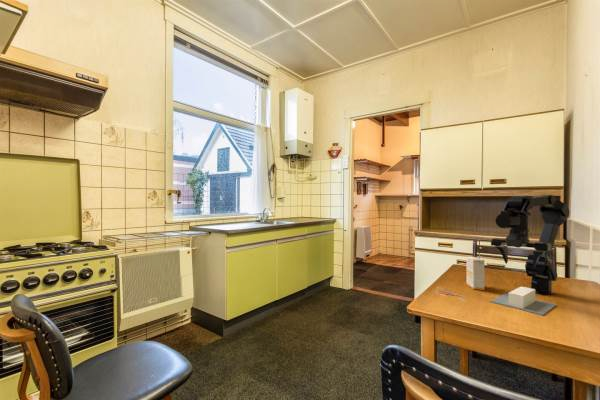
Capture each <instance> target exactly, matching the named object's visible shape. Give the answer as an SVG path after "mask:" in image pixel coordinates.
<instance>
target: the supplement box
mask: <svg viewBox="0 0 600 400" xmlns="http://www.w3.org/2000/svg"><path fill="white" fill-rule="evenodd" d="M485 280H486V279H485V259H482V258H480V257H478V256H466V285H467V286H468V287H470V288H471V289H472V290H477V291H478V290H481V291H485Z"/></svg>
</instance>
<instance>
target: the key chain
mask: <svg viewBox="0 0 600 400" xmlns="http://www.w3.org/2000/svg"><path fill="white" fill-rule="evenodd" d="M443 292H444V293H443ZM437 293H438V294H440V295H439V296H441V297H447V296H453V297H456V299H457V300H460V301H463V303H464V302H465V303H466V302H467V301H466V300H465V299H464V298H462V297H466V295H462V294H461V295H460V294H458V293H453V292H450V291H446V290H442V293H441V291H440V290H438V291H437ZM459 296H460V297H459Z"/></svg>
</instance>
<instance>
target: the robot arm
mask: <svg viewBox="0 0 600 400" xmlns="http://www.w3.org/2000/svg"><path fill="white" fill-rule="evenodd" d="M537 206H539V208H538V209H539V211H540V213H541V218H542V220H543V226H542V230H541V234H540V237H539V240H538V241H536V242H530V239H529V236H530V235H529V233H530V228H529V217H530V216H532V213H531V212H530V210H532V209H534V207H537ZM569 216H570V210H569V207H568V205H566V203H565V202H563V201H561V200H559V199H558V198H557V197H556V196H555V195H553V194H541V195H536V196H529V195H515V196H514V195H513V196H511V195H510V196H509V197H508V199H507V200H506V203H505V204H504V206H503V209H502V210H500V213H499V214H498V215H497V216H496V218H495V224H496V225H497V226H498V227H499V228H501V229H509V233H508V234H507V236H506V237H505V238H504V237H503V238H501V237H494V238H491V240H490V246H493V247H494V248H495V249H497V250H498V251H499V252H500V254H501V256H502V258H503V261H504V263H505V264H508V261H509V260H508V259H509V257H508V256H509V255H508V247H513V248H516V249H517V248H522V247H523V248H530V249H531V248H532V249H533V248H534V249H535V250H533V251H532V254H528V255H527V260H526V262H525V265H524V268H525V272H526V276H527V277H531V280H530V288H531V289H535V294H538V295H541V296H548V295H556V292H553V290H552V285H553V283H552V282H556V281H557V279H558V273H556V271H555V269H554V264H553V263H554V262H553V261H552V259H551V254H552V251H553V248H554V244H555V241H556V237H557V235H558V231H559V227H560V226H562V225H563V224H565V223H566V221H567V219H568V217H569Z"/></svg>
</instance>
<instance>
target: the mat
mask: <svg viewBox="0 0 600 400" xmlns="http://www.w3.org/2000/svg"><path fill="white" fill-rule="evenodd" d="M489 301H490V303H493V304H497V305H501V306H505V307H509V308H513V309H517V310H519V311H524V312H528V313H531V314H535V315H539V316H544V315H546V314H547V313H548V312H550V311H551V310H552V309H554V308H556V307H557V303H552V302H547V301H544V300H540V299H535V301H534V302H533V303H531V304H530V305H528V306H527V307H525V308H519V307H515V306H511V305H509V292H506V293H504V294H501V295H499V296H497V297H495V298H493V299H491V300H489Z"/></svg>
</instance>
